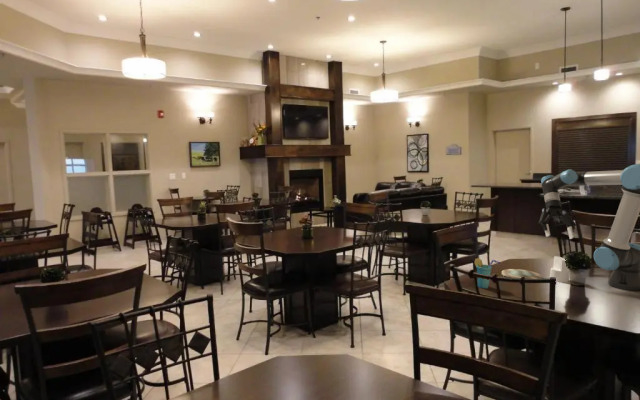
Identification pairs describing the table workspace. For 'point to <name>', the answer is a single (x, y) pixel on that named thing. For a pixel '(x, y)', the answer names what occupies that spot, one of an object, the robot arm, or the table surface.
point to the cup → (483, 272)
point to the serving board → (520, 274)
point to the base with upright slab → (560, 270)
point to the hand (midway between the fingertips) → (560, 237)
